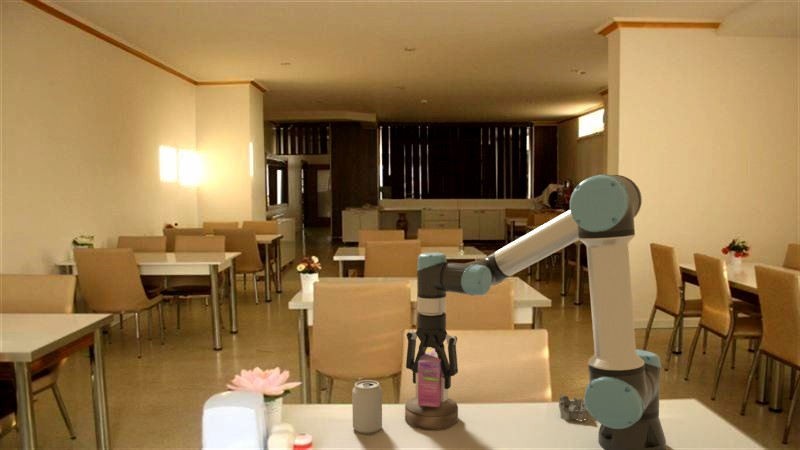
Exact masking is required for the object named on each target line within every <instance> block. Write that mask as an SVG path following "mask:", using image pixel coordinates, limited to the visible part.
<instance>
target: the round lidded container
mask: <svg viewBox="0 0 800 450" xmlns="http://www.w3.org/2000/svg"><path fill="white" fill-rule="evenodd" d="M404 421H405V423H406V424H407V425H408V426H410V427H411V428H414V429H418V430H422V431H423V430H424V431H432V432H433V431H443V430H448V429H450V428H452V427H455V426H456V425H457V424H458V422H459V406H458V404H457V402H456V400H454V399H451V398H449V397H448V399H447V400H446V401H444V402H441V403H440V406H439V407H429V406H419V405H418V397H416V396H415V397H413V398H410V399H409V400H407V401H406V403H405V405H404Z"/></svg>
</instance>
